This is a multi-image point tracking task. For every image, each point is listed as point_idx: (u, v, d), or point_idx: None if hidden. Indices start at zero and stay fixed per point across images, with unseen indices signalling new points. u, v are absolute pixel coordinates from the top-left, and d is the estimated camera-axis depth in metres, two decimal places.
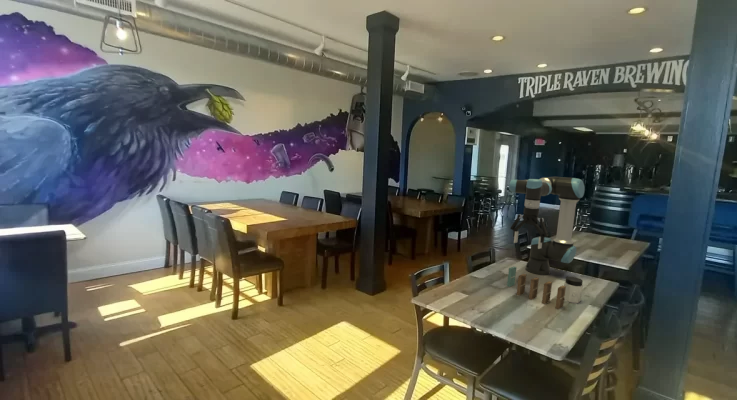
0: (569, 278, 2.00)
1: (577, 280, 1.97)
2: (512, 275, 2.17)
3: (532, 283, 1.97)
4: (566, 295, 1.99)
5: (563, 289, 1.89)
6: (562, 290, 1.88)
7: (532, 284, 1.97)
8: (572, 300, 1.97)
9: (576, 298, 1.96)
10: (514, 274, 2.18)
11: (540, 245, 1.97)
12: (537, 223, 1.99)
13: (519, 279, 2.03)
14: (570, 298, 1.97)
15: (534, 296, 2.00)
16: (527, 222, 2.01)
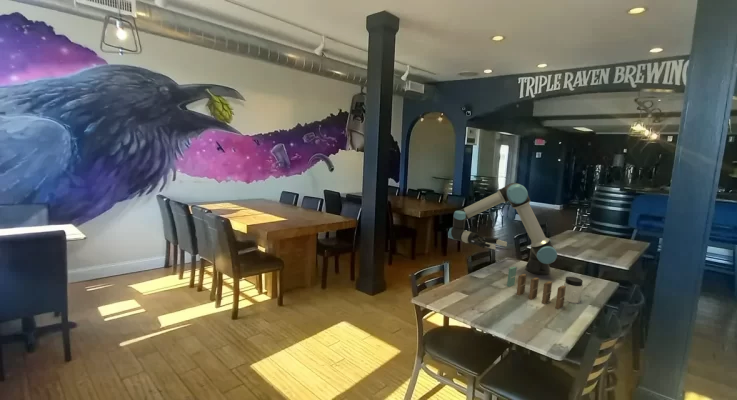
0: (569, 278, 2.00)
1: (577, 280, 1.97)
2: (512, 275, 2.17)
3: (532, 283, 1.97)
4: (566, 295, 1.99)
5: (563, 289, 1.89)
6: (562, 290, 1.88)
7: (532, 284, 1.97)
8: (572, 300, 1.97)
9: (576, 298, 1.96)
10: (514, 274, 2.18)
11: (492, 246, 2.18)
12: (479, 239, 2.29)
13: (519, 279, 2.03)
14: (570, 298, 1.97)
15: (534, 296, 2.00)
16: None
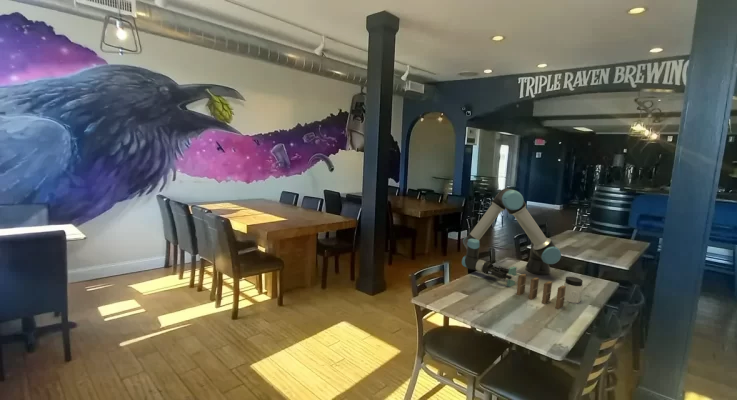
0: (569, 278, 2.00)
1: (577, 280, 1.97)
2: None
3: (532, 283, 1.97)
4: (566, 295, 1.99)
5: (563, 289, 1.89)
6: (562, 290, 1.88)
7: (532, 284, 1.97)
8: (572, 300, 1.97)
9: (576, 298, 1.96)
10: (514, 274, 2.18)
11: (514, 278, 2.13)
12: (495, 270, 2.23)
13: (519, 279, 2.03)
14: (570, 298, 1.97)
15: (534, 296, 2.00)
16: None
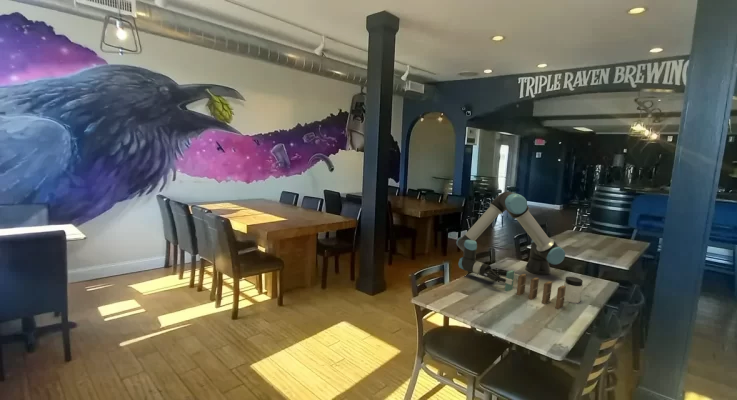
0: (569, 278, 2.00)
1: (577, 280, 1.97)
2: None
3: (532, 283, 1.97)
4: (566, 295, 1.99)
5: (563, 289, 1.89)
6: (562, 290, 1.88)
7: (532, 284, 1.97)
8: (572, 300, 1.97)
9: (576, 298, 1.96)
10: (512, 278, 2.11)
11: (508, 281, 2.05)
12: (492, 272, 2.15)
13: (519, 279, 2.03)
14: (570, 298, 1.97)
15: (534, 296, 2.00)
16: None
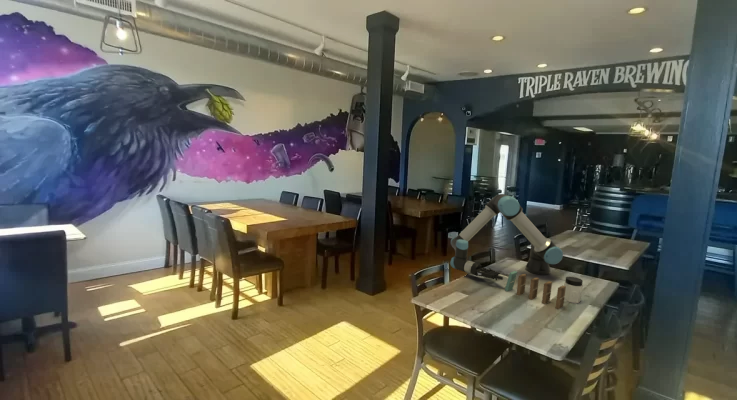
0: (569, 278, 2.00)
1: (577, 280, 1.97)
2: (512, 280, 2.08)
3: (532, 283, 1.97)
4: (566, 295, 1.99)
5: (563, 289, 1.89)
6: (562, 290, 1.88)
7: (532, 284, 1.98)
8: (572, 300, 1.97)
9: (576, 298, 1.96)
10: (514, 279, 2.10)
11: (505, 279, 2.11)
12: (485, 271, 2.20)
13: (519, 279, 2.03)
14: (570, 298, 1.97)
15: (534, 296, 2.00)
16: None
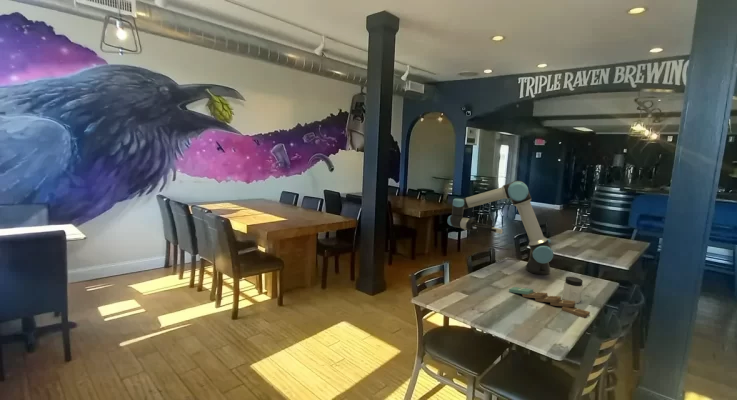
0: (569, 278, 2.00)
1: (577, 280, 1.97)
2: None
3: (553, 301, 1.90)
4: (566, 295, 1.99)
5: None
6: None
7: (552, 301, 1.91)
8: (572, 300, 1.97)
9: (576, 298, 1.96)
10: None
11: (498, 231, 2.26)
12: (479, 225, 2.35)
13: (539, 296, 1.95)
14: (570, 298, 1.97)
15: None
16: None
